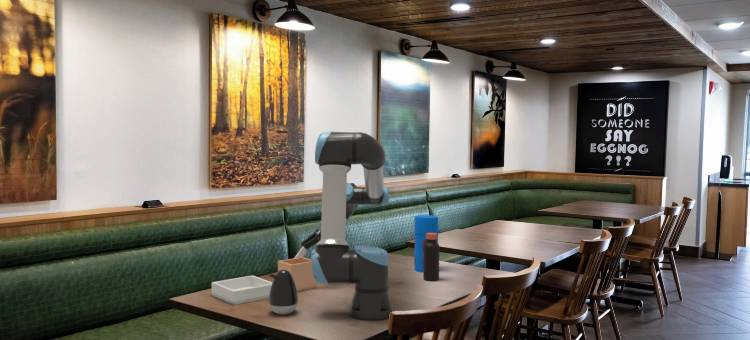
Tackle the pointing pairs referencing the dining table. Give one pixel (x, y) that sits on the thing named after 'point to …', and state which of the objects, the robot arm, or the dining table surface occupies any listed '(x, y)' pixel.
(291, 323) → the dining table surface
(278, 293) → the pump dispenser
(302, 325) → the dining table surface
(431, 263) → the bottle
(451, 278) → the dining table surface
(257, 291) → the white tray
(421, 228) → the thermos
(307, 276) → the terracotta crate
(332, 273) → the robot arm
